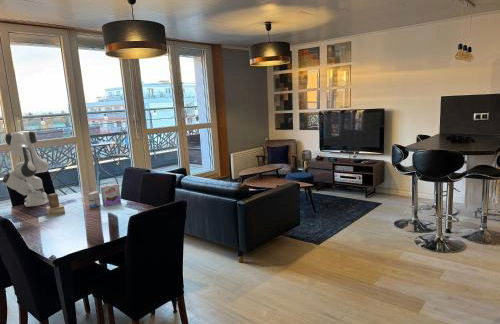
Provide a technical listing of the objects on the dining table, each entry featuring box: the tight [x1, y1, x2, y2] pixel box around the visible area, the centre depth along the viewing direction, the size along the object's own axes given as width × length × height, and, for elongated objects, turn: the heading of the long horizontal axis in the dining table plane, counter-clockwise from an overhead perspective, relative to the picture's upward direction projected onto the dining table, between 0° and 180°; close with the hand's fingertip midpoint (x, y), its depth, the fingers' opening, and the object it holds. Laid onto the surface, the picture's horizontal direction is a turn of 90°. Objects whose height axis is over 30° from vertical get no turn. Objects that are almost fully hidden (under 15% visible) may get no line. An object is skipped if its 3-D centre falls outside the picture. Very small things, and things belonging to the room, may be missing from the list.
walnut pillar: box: [47, 193, 60, 208], centre depth 268 cm, size 5×5×10 cm
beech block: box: [45, 203, 66, 218], centre depth 269 cm, size 11×11×6 cm
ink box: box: [87, 191, 101, 208], centre depth 283 cm, size 9×5×12 cm, turn 168°
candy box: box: [100, 183, 122, 207], centre depth 285 cm, size 14×6×16 cm, turn 120°
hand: (42, 198), depth 261 cm, fingers open, 8 cm apart
